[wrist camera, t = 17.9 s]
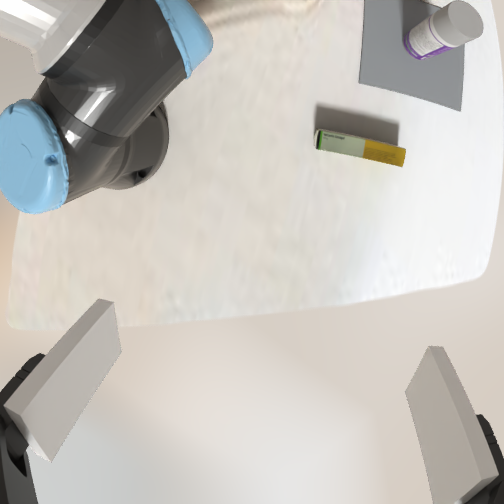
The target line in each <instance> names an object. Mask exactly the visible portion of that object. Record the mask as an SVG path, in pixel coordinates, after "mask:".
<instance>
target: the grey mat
mask: <svg viewBox="0 0 504 504" xmlns="http://www.w3.org/2000/svg"><path fill="white" fill-rule="evenodd" d="M440 9H441V8H438V7H436V6H433V5H430V4H428V3H425V2H422V1H419V0H365V5H364V25H363V40H362V54H361V65H360V76H359V83H360V84H365V85H369V86H374V87H378V88H382V89H387V90H391V91H395V92H398V93H402V94H406V95H409V96H413V97H417V98H420V99H423V100H427V101H430V102H433V103H436V104H439V105H442V106H445V107H448V108H451V109H454V110H457V111H461V103H462V91H463V76H464V44H462V45H460V46H458V47H456V48H453V49H451V50H448V51H446V52H443V53H441V54H438V55H436V56H434V57H431V58H429V59H426V60H423V61H419V60H416V59H413V58H412V57H410V56H409V55H408V54H407V52H406V51H405V49H404V47H403V37H404V35H405V34H406V33H407V32H409V31H410V30H411V29H413V28H414V27H415V26H417V25H418V24H419V23H421V22H422V21H424V20H425V19H426V18H428V17H429V16H430V15H432V14H433V13H435V12H436V11H438V10H440Z"/></svg>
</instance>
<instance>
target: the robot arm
mask: <svg viewBox="0 0 504 504" xmlns="http://www.w3.org/2000/svg"><path fill="white" fill-rule="evenodd" d="M0 37H2V38H5V39H7V40H9V41H12V42H14V43H16V44H18V45H21V46H23V47H25V48H28V49H29V50H30V52H31V55H32V60H33V64H34V69H35V71H36V72H37V73H38V74H41V75H43V76H45V79H44V80H43V82H42V83H41V85H40V86H39V88H38V89H37V91H36V93H35V94H34V96H33V97H32V98H31V99H22V100H19V101H17V102H16V103H14V104H11V105H9V106H8V107H7V108H6V109H5V110H4V111H3V112H2V113H1V115H0V189H1V191H2V193H3V194H4V196H5V197H6V198H7V200H8V201H9V202H10V203H11V204H12V205H13V206H14V207H16V208H17V209H18V210H20V211H22V212H24V213H30V214H39V213H43V212H46V211H50V210H54V209H57V208H59V207H61V205H63V204H65V203H67V202H69V201H72V200H74V199H76V198H78V197H80V196H82V195H85V194H87V193H89V192H91V191H94V190H96V189H98V188H101V187H103V188H109V189H115V190H122V189H128V188H132V187H134V186H137V185H139V184H141V183H143V182H145V181H146V180H148V179H149V178H150V177H152V176H153V175H154V174H155V173H156V171H157V170H158V169H159V167H160V166H161V164H162V162H163V160H164V158H165V155H166V152H167V148H168V140H169V134H168V126H167V122H166V119H165V116H164V114H163V112H162V110H161V109H160V107H159V106H158V105H159V104H160V103H161V102H162V101H163V100H164V99H165V98H166V97H167V96H168V95H169V93H170V92H171V91H172V90H173V89H174V88H175V87H176V86H177V85H178V84H179V83H180V82H182V81H183V80H184V79H188V78H189V77H190V76H191V73H192V71H193V70H194V69H195V68H196V67H197V66H198V65H199V64H200V63H201V62H202V61H203V60H204V59H205V58H206V57H207V56H208V55H209V54H210V52H211V51H212V47H213V37H212V35H211V32H210V30H209V29H208V27H207V26H206V24H205V23H204V21H203V20H202V18H201V17H200V16H199V14H198V13H197V12H196V11H195V9H194V8H193V7H192V6H191V4H190V3H189V2H188V1H187V0H0ZM121 352H122V351H121V345H120V340H119V333H118V327H117V321H116V314H115V307H114V302H111V301H107V300H103V299H98V300H97V301H96V302H95V303H94V304H93V305H92V306H91V307H90V308H89V309H88V310H87V311H86V312H85V313H84V314H83V315H82V317H81V318H80V319H79V320H78V321H77V322H76V323H75V324H74V325H73V326H72V327H71V328H70V329H69V330H68V331H67V333H66V334H65V335H64V336H63V337H62V338H61V339H60V340H59V341H58V342H57V344H56V345H55V346H54V347H53V348H52V349H51V350H50V351H49V353H48V354H47V355H44V354H41V353H39V354H37V355H36V356H34V357H32V358H30V359H29V360H28V361H27V362H26V363H25V364H24V366H22V368H21V370H19V371H18V372H17V373H16V375H15V377H13V378H12V379H11V380H10V381H9V382H8V384H7V385H6V386H5V387H4V388H3V389H2V391H1V392H0V504H38V501H37V497H36V493H35V488H34V484H33V479H32V475H31V470H30V464H29V459H28V455H27V452H26V449H27V447H28V446H30V447H31V448H32V450H33V451H34V453H35V454H37V455H38V456H40V457H42V458H44V459H46V460H48V461H49V462H52V461H53V459H54V457H55V456H56V454H57V452H58V451H59V449H60V447H61V445H62V444H63V442H64V441H65V439H66V437H67V436H68V434H69V432H70V431H71V429H72V428H73V426H74V425H75V423H76V421H77V420H78V418H79V416H80V415H81V413H82V412H83V410H84V408H85V407H86V406H87V404H88V402H89V401H90V399H91V398H92V396H93V395H94V393H95V392H96V390H97V389H98V387H99V386H100V384H101V382H102V381H103V379H104V378H105V376H106V375H107V373H108V372H109V370H110V369H111V367H112V366H113V364H114V363H115V361H116V360H117V358H118V357H119V355H120V354H121ZM405 393H406V397H407V400H408V404H409V407H410V410H411V414H412V417H413V421H414V424H415V428H416V432H417V435H418V439H419V443H420V447H421V451H422V455H423V459H424V463H425V467H426V471H427V476H428V481H429V485H430V490H431V494H432V500H433V504H504V458H503V456H502V452H501V450H500V448H499V445H498V444H497V440H496V438H495V436H494V435H493V434H494V433H493V431H492V428H491V426H490V424H489V422H488V421H487V420H486V419H485V418H484V417H483V415H481V414H480V415H476V414H475V412H474V410H473V408H472V405H471V403H470V401H469V399H468V396H467V394H466V392H465V390H464V388H463V386H462V384H461V382H460V380H459V377H458V375H457V373H456V371H455V369H454V367H453V365H452V363H451V362H450V359H449V357H448V356H447V354H446V352H445V350H444V348H443V347H439V346H438V347H437V346H428V348H427V350H426V352H425V354H424V356H423V358H422V361H421V363H420V364H419V366H418V368H417V370H416V372H415V374H414V376H413V378H412V380H411V382H410V384H409V385H408V387H407V389H406V391H405Z"/></svg>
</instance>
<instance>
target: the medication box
mask: <svg viewBox="0 0 504 504" xmlns="http://www.w3.org/2000/svg"><path fill="white" fill-rule="evenodd" d="M314 146H315V148H316V149H318V150H323V151H329V152H334V153H339V154H344V155H350V156H355V157H359V158H364V159H369V160H373V161H378V162H382V163H387V164H391V165H395V166H399V167H402V166H403V163H404V159H405V153H406V149H405V148H402V147H400V146H397V145H393V144H390V143H386V142H382V141H377V140H373V139H369V138H364V137H360V136H355V135H351V134H346V133H341V132H336V131H331V130H325V129H319V128H317V129H316V131H315V135H314Z"/></svg>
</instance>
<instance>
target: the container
mask: <svg viewBox="0 0 504 504" xmlns="http://www.w3.org/2000/svg"><path fill="white" fill-rule="evenodd" d="M482 33H483V22H482V19H481V17H480V15H479V13H478V12H477V11H476V10H475V9H474V8H473V7H472V6H471V5H470V4H468V3H466V2H464V1H460V0H456V1H453V2H451V3H449V4H448V5H446V6H445V7H443V8H441V9H440V10H438V11H436V12H435V13H433V14H432V15H430V16H429V17H428V18H426V19H425V20H424V21H422V22H421V23H419V24H418V25H417V26H415V27H414V28H413V29H411V30H410V31H409V32H407V33H406V34H405V35H404V37H403V47H404V49H405V51H406V52H407V54H408V55H409V56H410V57H412V58H413V59H416V60H419V61H423V60H426V59H429V58H431V57H434V56H436V55H438V54H441V53H443V52H446V51H448V50H451V49H453V48H456V47H458V46H460V45H462V44H465V43H467V42H469V41H471V40H474V39H476V38H478V37H480V36H481V35H482Z"/></svg>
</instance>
